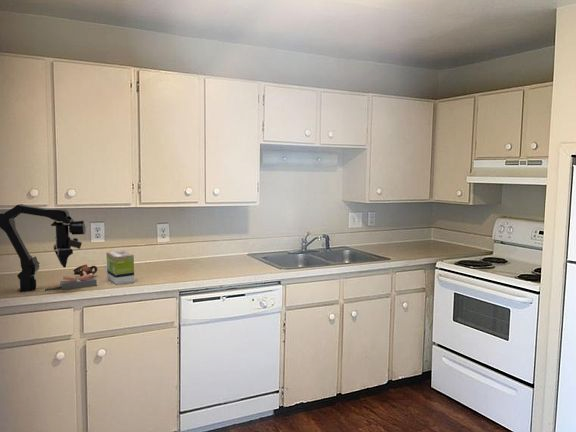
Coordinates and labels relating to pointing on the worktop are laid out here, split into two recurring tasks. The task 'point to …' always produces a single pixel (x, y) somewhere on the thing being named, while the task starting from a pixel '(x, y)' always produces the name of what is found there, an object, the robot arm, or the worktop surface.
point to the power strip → (75, 284)
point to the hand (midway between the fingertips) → (63, 266)
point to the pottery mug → (86, 269)
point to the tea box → (120, 267)
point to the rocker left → (69, 278)
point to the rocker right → (86, 276)
